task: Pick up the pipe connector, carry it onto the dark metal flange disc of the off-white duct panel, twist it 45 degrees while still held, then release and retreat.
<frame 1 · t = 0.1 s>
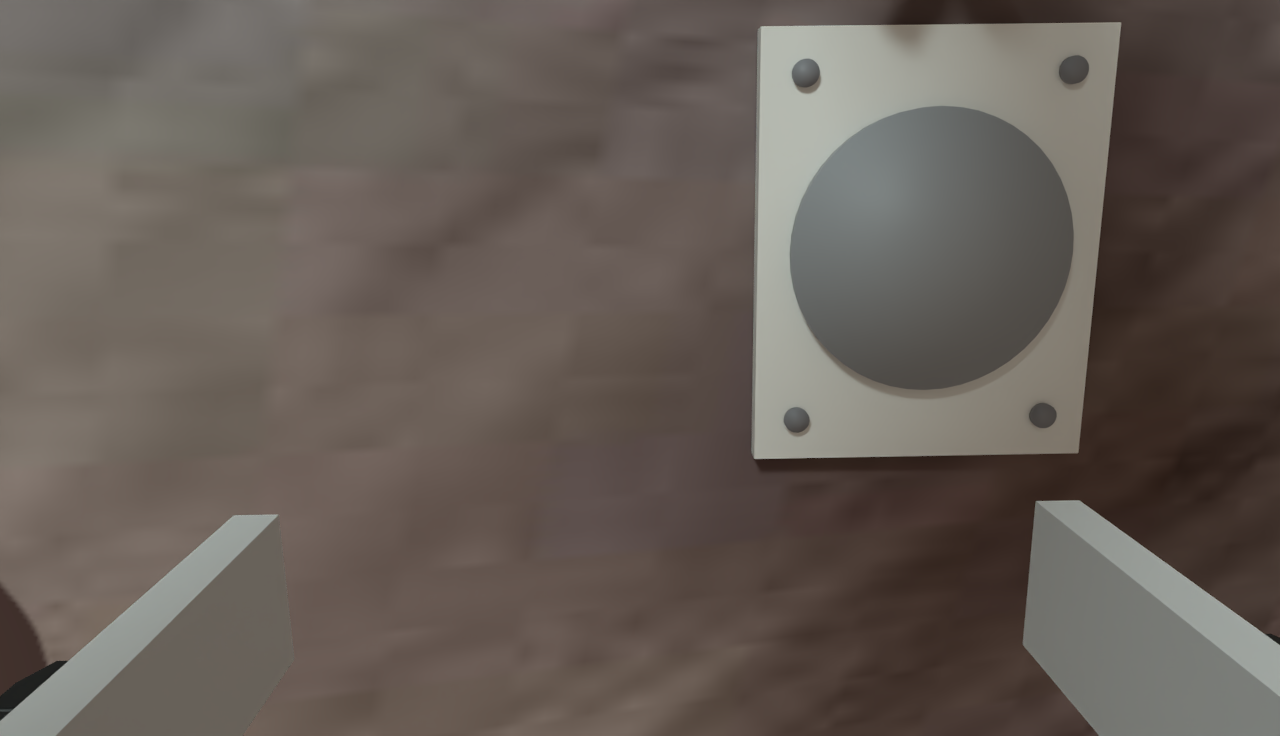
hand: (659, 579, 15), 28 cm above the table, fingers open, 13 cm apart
duct panel: (921, 249, 42), on the table
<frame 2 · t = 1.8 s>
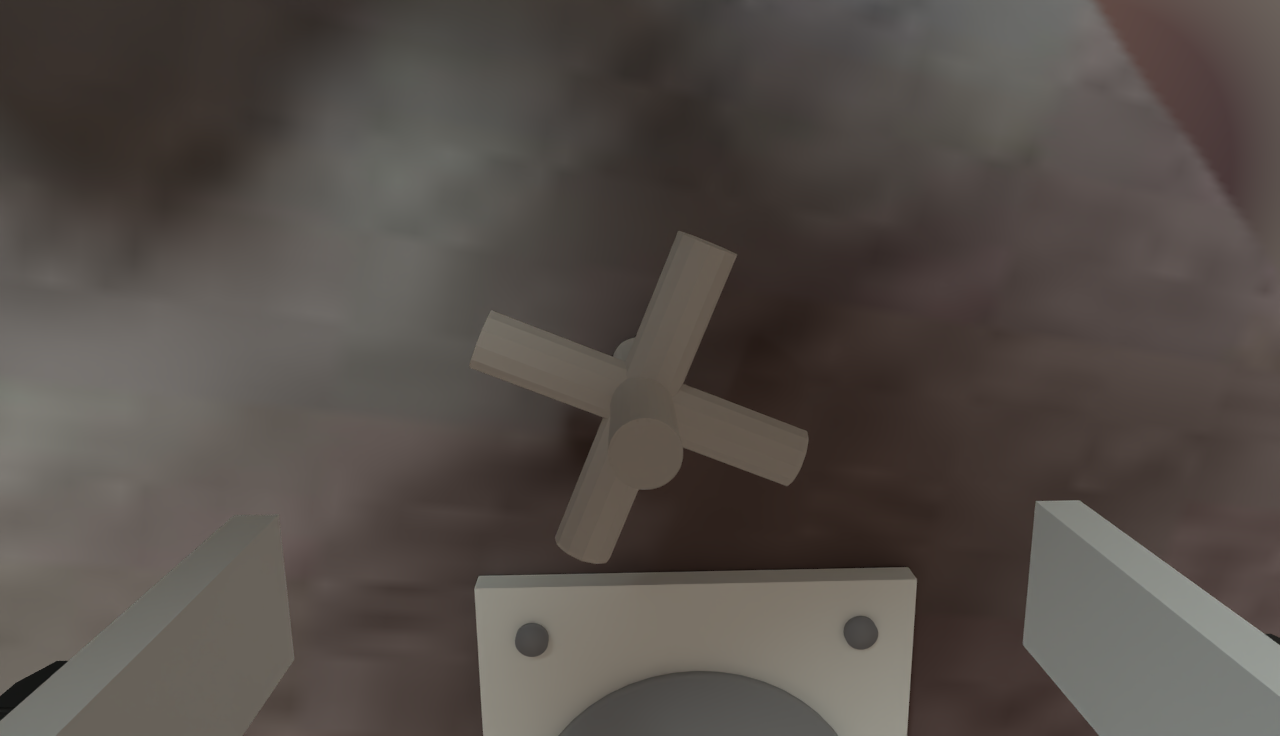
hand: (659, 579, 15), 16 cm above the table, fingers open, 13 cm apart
pipe connector: (637, 361, 31), on the table
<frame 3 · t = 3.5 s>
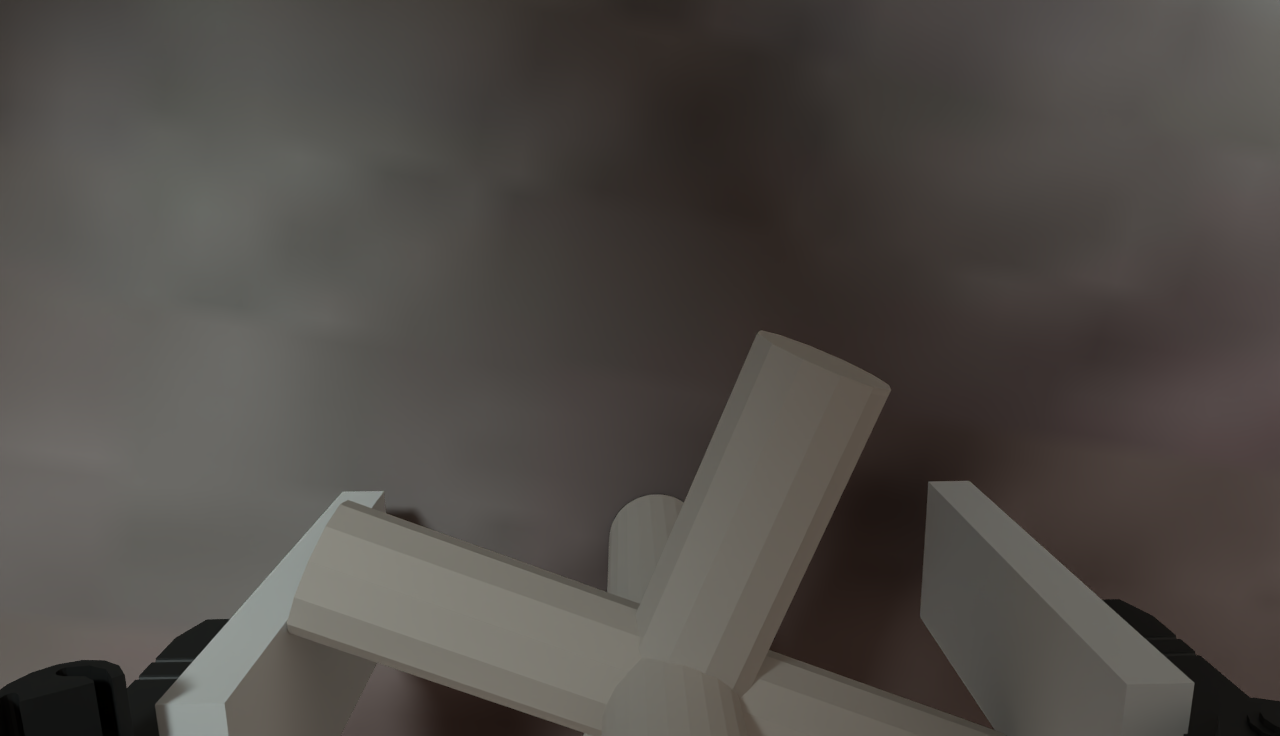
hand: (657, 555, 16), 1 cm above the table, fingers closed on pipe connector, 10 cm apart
pipe connector: (656, 534, 17), on the table, touching gripper
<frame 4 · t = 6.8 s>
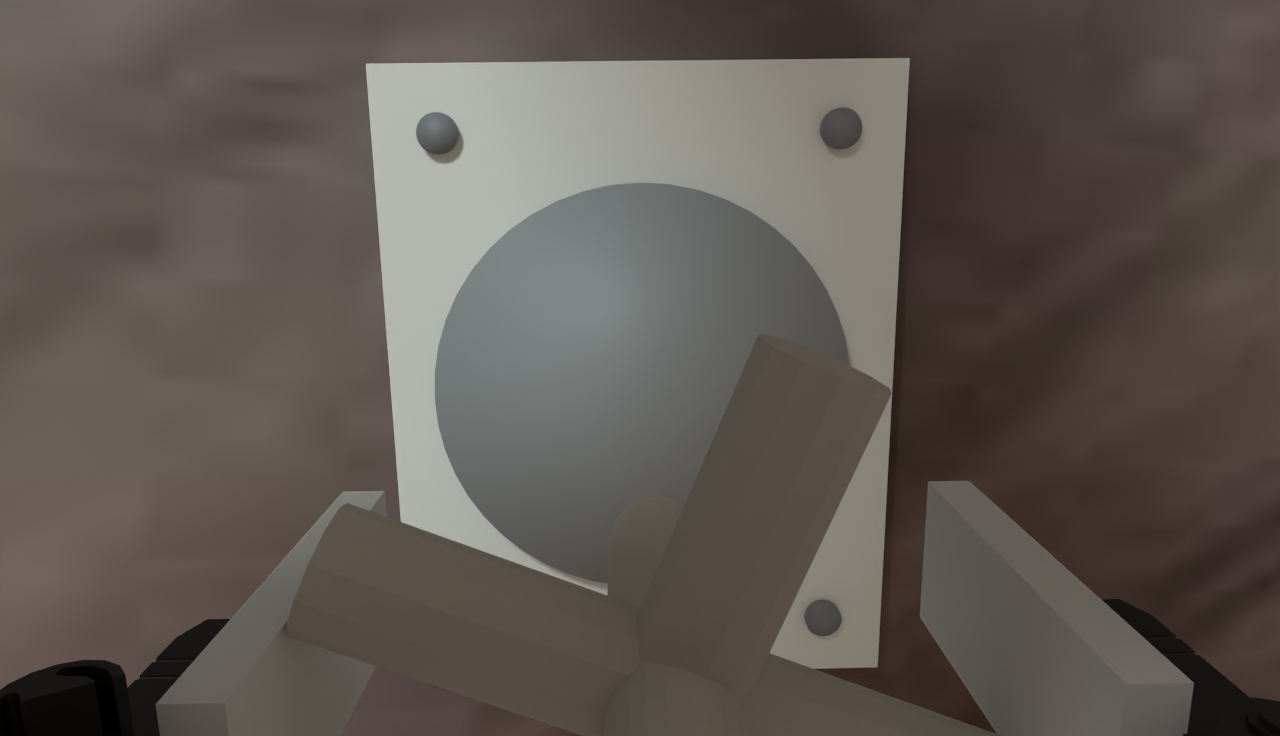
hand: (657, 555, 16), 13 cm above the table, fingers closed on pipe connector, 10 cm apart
duct panel: (642, 383, 29), on the table
pipe connector: (656, 536, 17), point 12 cm above the table, touching gripper
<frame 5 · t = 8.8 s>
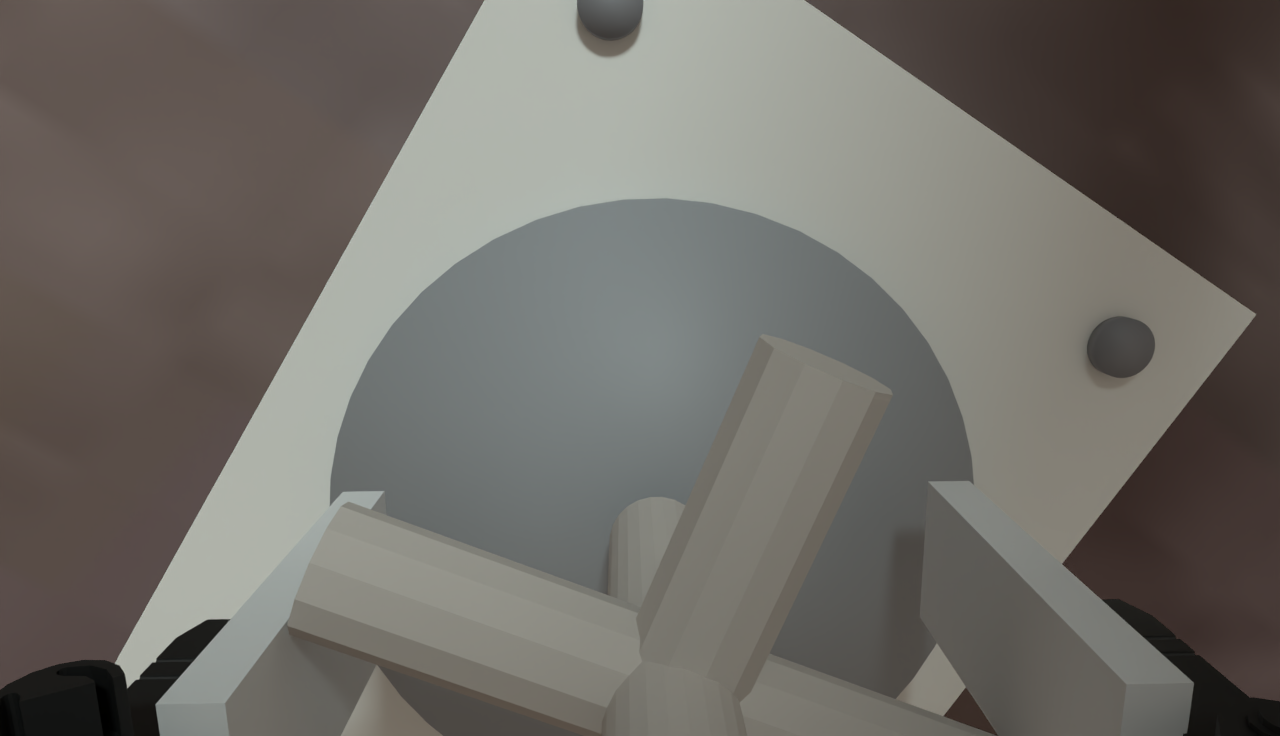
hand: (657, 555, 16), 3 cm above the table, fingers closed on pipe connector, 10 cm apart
duct panel: (651, 498, 19), on the table
pipe connector: (656, 536, 17), point 2 cm above the table, touching gripper
when the fingers open (3 cm above the table, at t = 10.1 s): pipe connector stays where it is, resting on duct panel.
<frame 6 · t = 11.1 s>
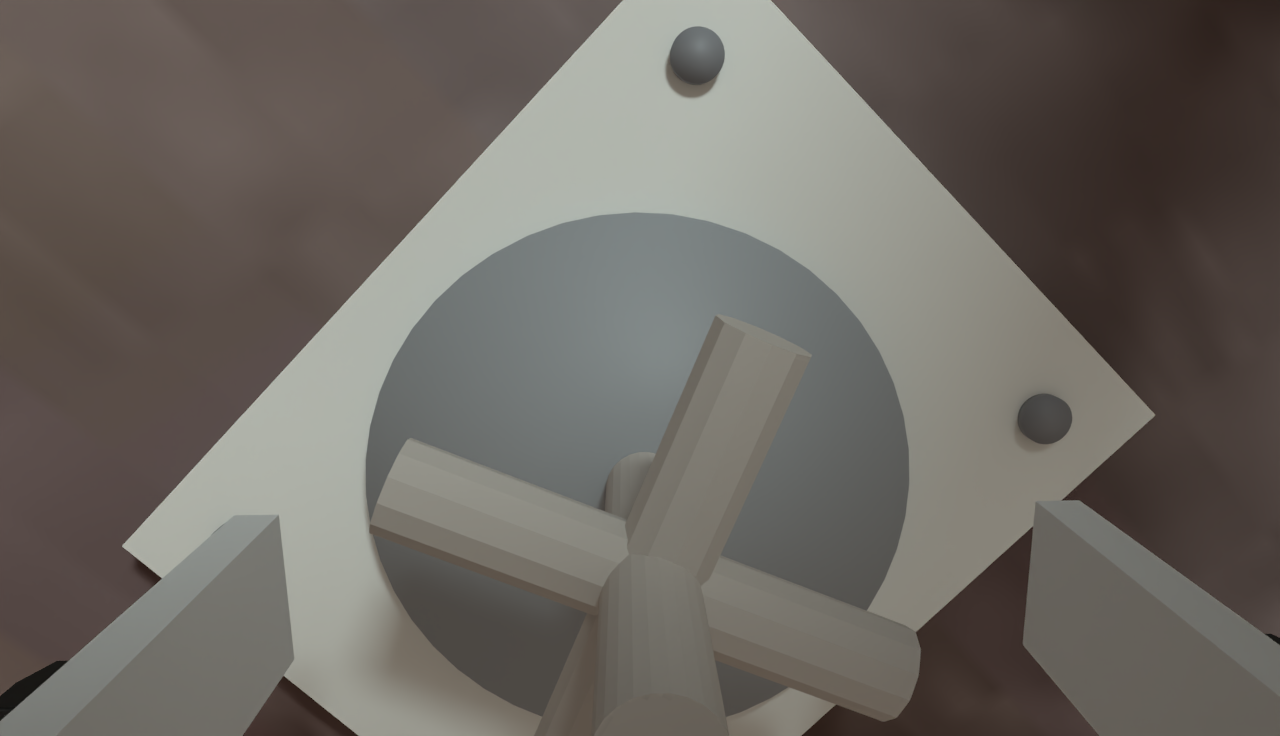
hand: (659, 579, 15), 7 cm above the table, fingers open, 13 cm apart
duct panel: (637, 467, 23), on the table
pipe connector: (644, 485, 21), point 1 cm above the table, touching duct panel
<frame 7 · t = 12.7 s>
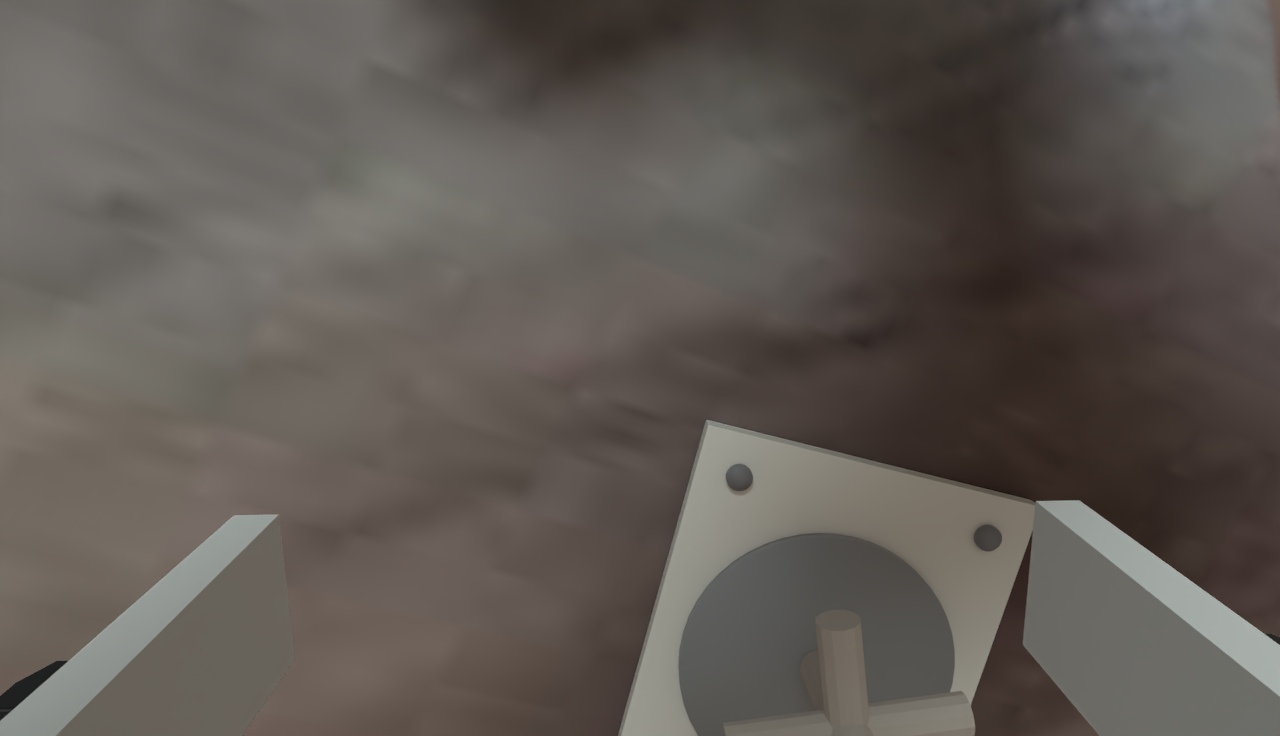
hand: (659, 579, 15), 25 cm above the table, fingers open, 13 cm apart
duct panel: (810, 652, 43), on the table
pipe connector: (818, 665, 41), point 1 cm above the table, touching duct panel
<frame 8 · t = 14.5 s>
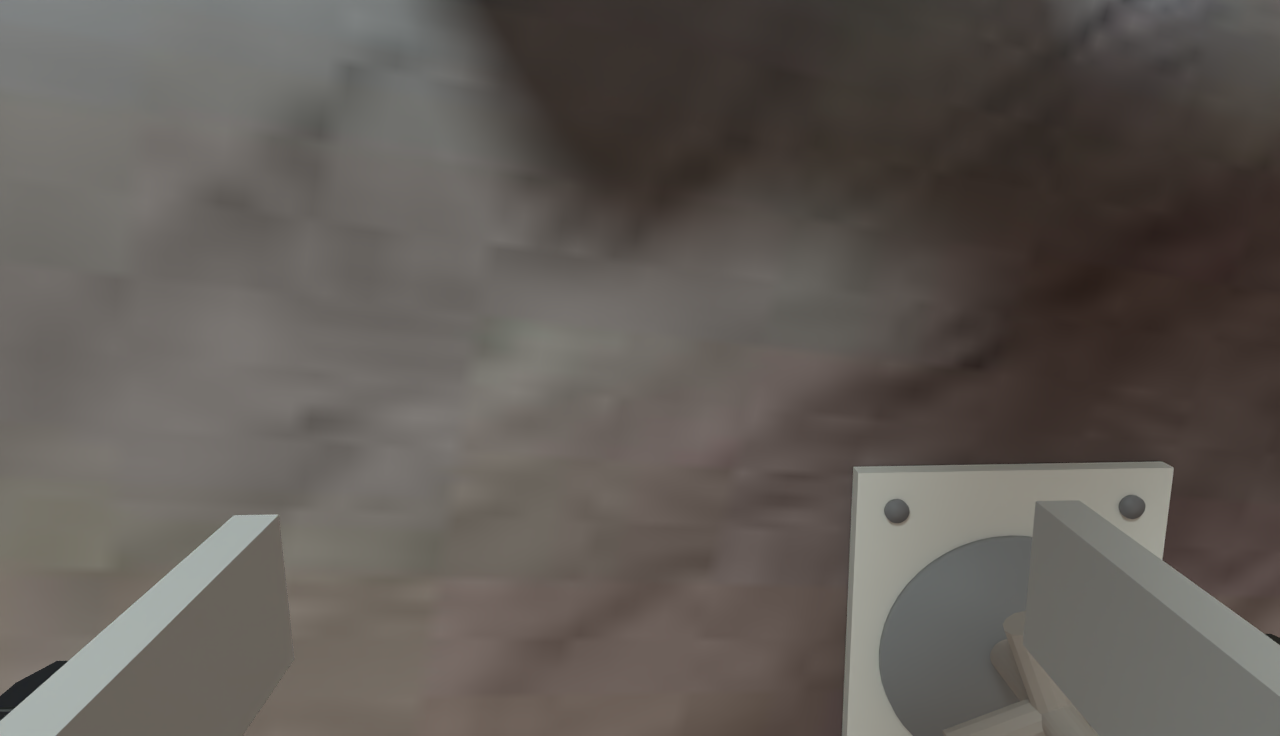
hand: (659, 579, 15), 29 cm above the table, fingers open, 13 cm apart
duct panel: (993, 640, 47), on the table
pipe connector: (1005, 652, 46), point 1 cm above the table, touching duct panel
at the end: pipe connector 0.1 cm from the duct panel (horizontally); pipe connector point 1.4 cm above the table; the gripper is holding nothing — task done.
